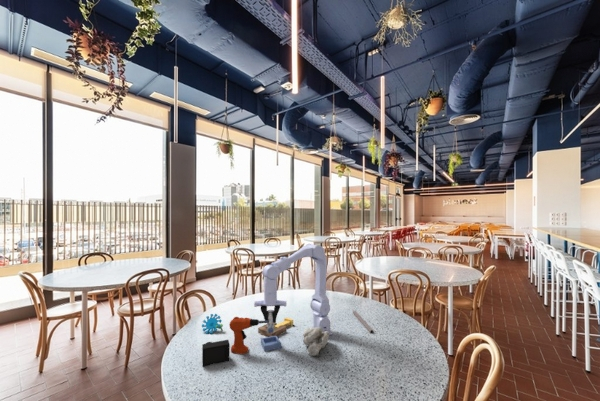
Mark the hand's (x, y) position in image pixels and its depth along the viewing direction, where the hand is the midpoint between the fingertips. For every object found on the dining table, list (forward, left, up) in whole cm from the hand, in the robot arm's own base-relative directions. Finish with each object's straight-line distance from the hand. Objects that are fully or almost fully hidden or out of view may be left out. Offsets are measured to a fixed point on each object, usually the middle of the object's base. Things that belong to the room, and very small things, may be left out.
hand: (270, 322), depth 121 cm
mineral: (-10, -18, -11) cm, 23 cm away
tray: (0, 0, -10) cm, 10 cm away
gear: (+26, +24, -11) cm, 37 cm away
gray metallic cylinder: (0, 0, -4) cm, 4 cm away
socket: (+14, -6, -10) cm, 19 cm away
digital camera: (-4, +24, -11) cm, 26 cm away
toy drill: (-2, +10, -10) cm, 15 cm away
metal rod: (+7, -53, -11) cm, 55 cm away
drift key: (+17, -11, -10) cm, 22 cm away
